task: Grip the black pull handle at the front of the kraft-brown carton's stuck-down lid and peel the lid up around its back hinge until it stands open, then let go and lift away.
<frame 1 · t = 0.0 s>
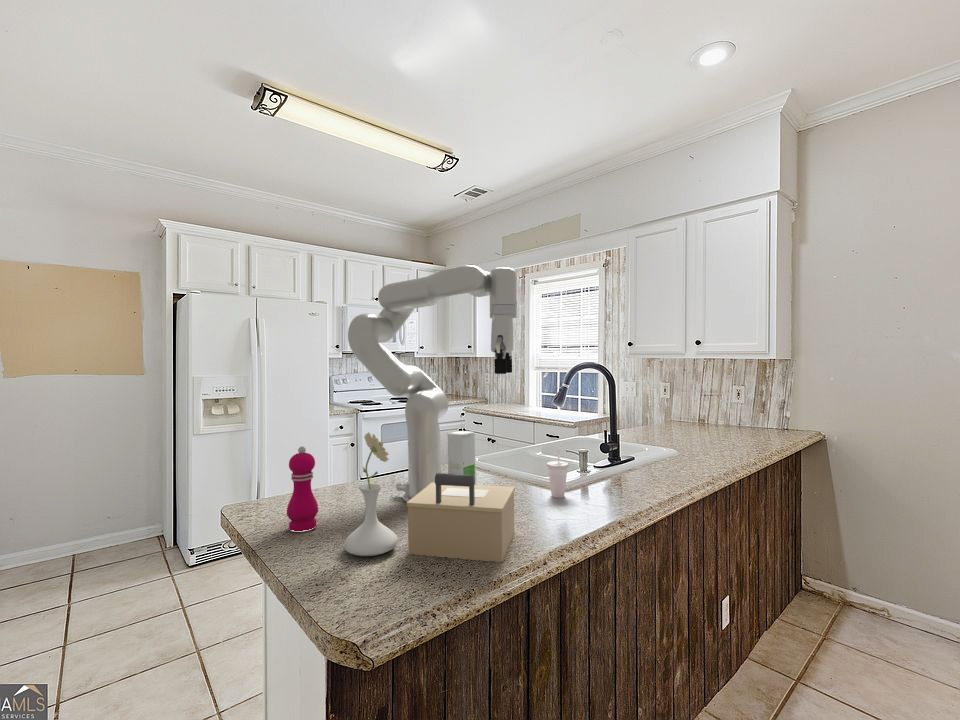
hand: (503, 373, 132), 37 cm above the countertop, tool pointing down, fingers open, 9 cm apart
carton: (464, 543, 104), on the countertop
pepper mill: (302, 529, 114), on the countertop
smoothie: (557, 496, 139), on the countertop
carton lid: (463, 482, 104), point 14 cm above the countertop, hinge at 0.0°
skincare box: (461, 477, 162), on the countertop
flower in vase: (371, 549, 102), on the countertop
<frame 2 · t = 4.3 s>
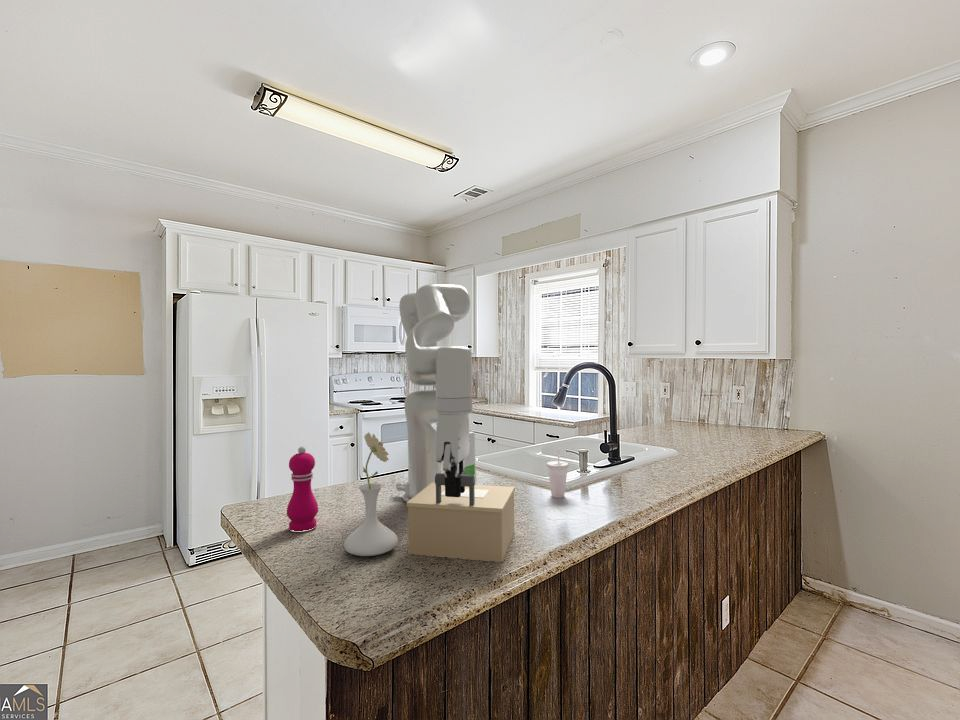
hand: (455, 493, 98), 13 cm above the countertop, tool pointing down, fingers closed on carton lid, 2 cm apart
carton lid: (463, 482, 104), point 14 cm above the countertop, hinge at 0.0°, touching gripper
everything else where it was.
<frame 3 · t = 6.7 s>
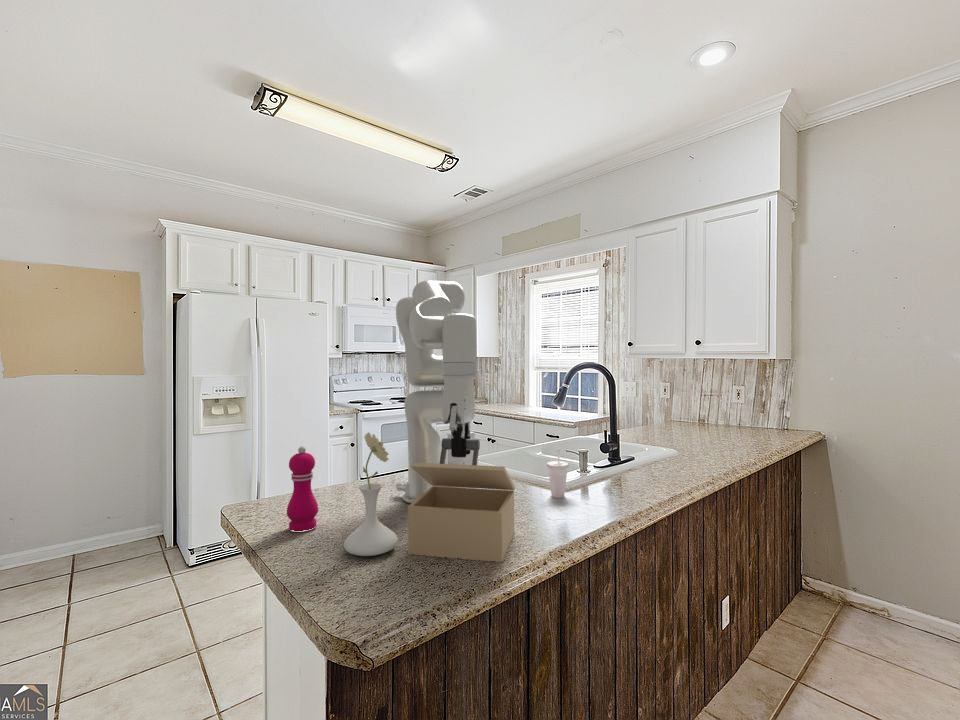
hand: (461, 454, 102), 20 cm above the countertop, tool pointing down, fingers closed on carton lid, 2 cm apart
carton lid: (466, 463, 107), point 17 cm above the countertop, hinge at 29.5°, touching gripper
everything else where it was.
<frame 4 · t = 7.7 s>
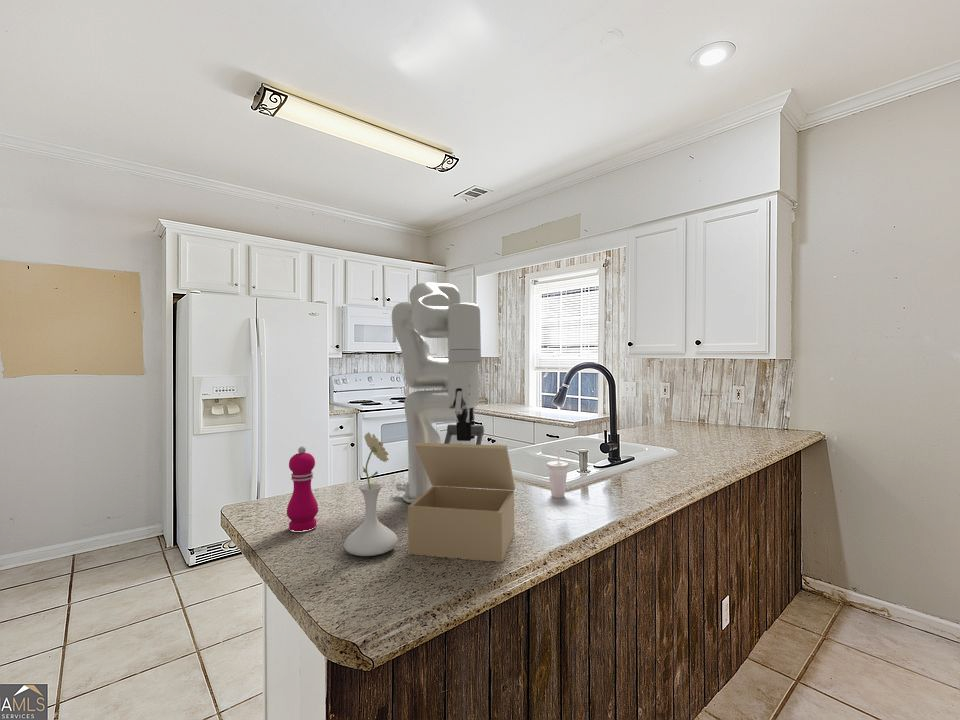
hand: (465, 438, 106), 23 cm above the countertop, tool pointing down, fingers closed on carton lid, 2 cm apart
carton lid: (469, 456, 109), point 18 cm above the countertop, hinge at 47.0°, touching gripper
everything else where it was.
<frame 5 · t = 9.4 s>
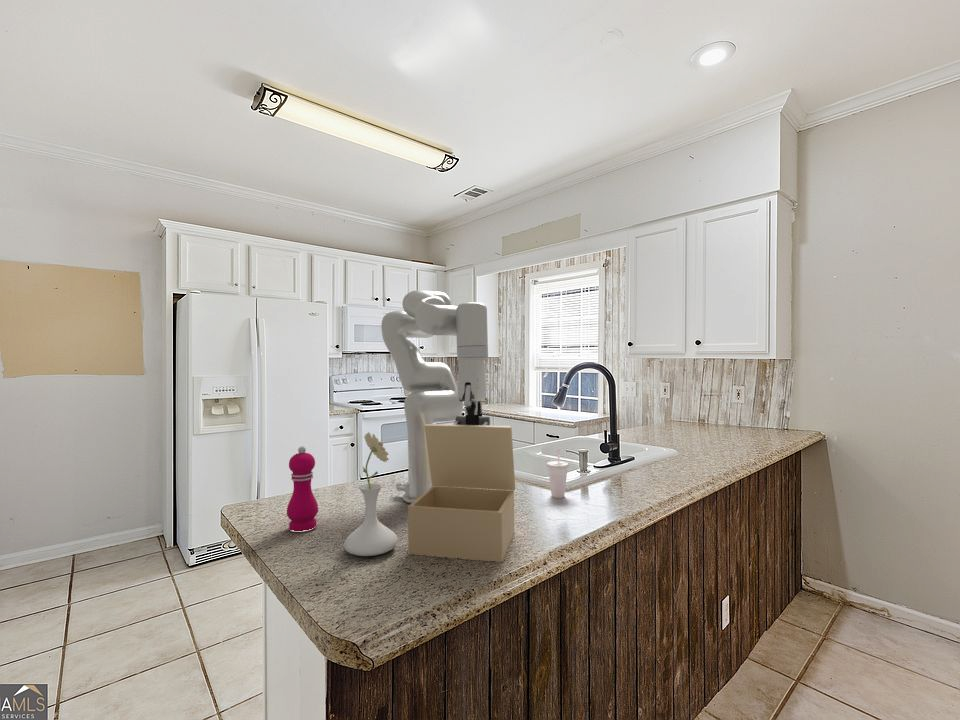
hand: (474, 430, 113), 24 cm above the countertop, tool pointing down, fingers closed on carton lid, 2 cm apart
carton lid: (473, 450, 113), point 19 cm above the countertop, hinge at 72.3°, touching gripper
everything else where it was.
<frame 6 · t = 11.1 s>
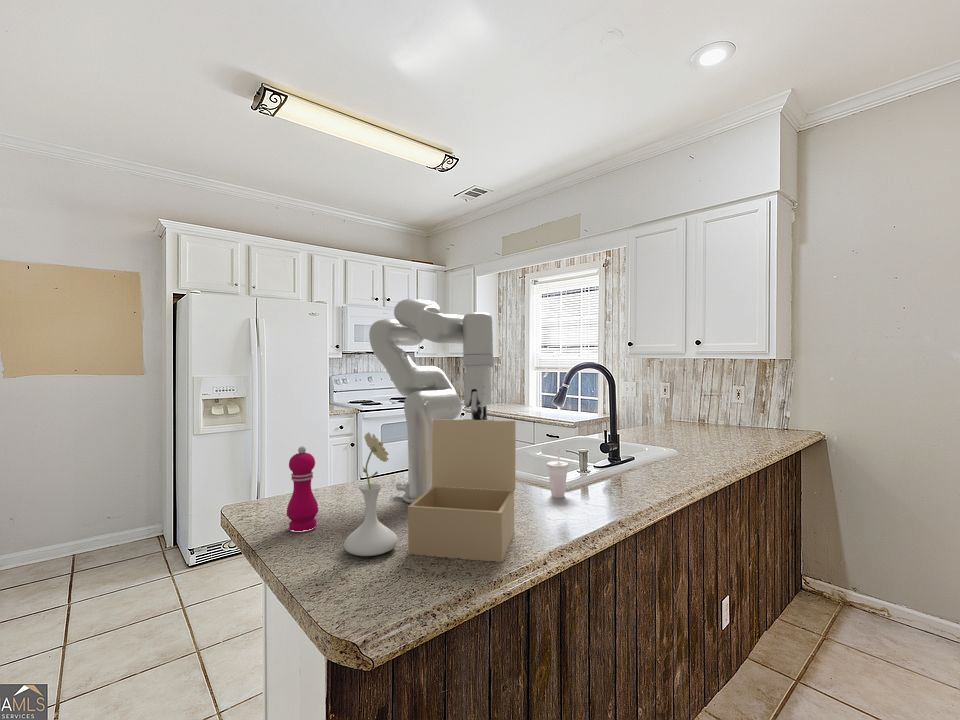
hand: (479, 434, 119), 22 cm above the countertop, tool pointing down, fingers closed on carton lid, 2 cm apart
carton lid: (476, 452, 116), point 18 cm above the countertop, hinge at 94.2°, touching gripper
everything else where it was.
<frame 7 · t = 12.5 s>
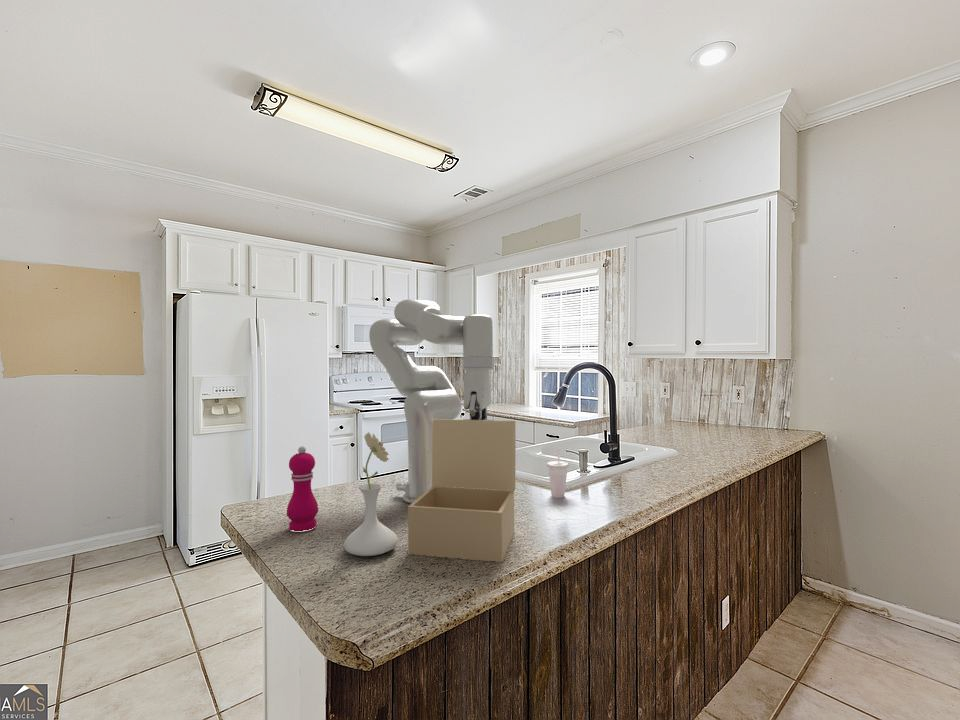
hand: (478, 435, 119), 22 cm above the countertop, tool pointing down, fingers open, 4 cm apart
carton lid: (476, 452, 116), point 18 cm above the countertop, hinge at 94.2°, touching gripper
everything else where it was.
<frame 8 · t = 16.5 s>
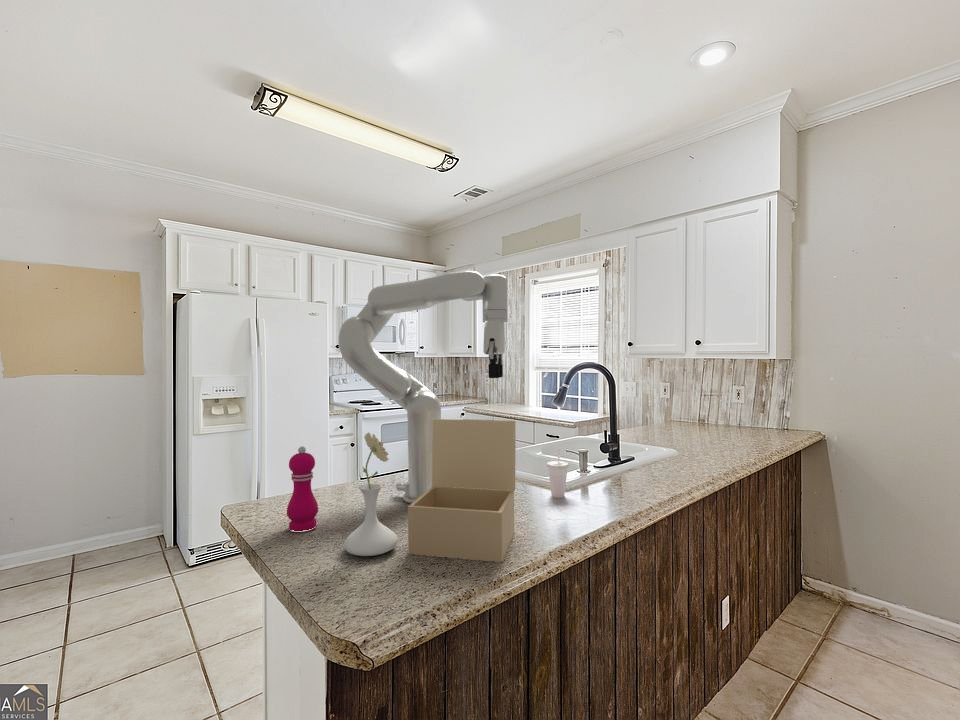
hand: (495, 376, 141), 35 cm above the countertop, tool pointing down, fingers open, 4 cm apart
carton lid: (476, 452, 116), point 18 cm above the countertop, hinge at 94.2°
everything else where it was.
at the end: carton lid at +94° (first picture: +0°); the gripper is holding nothing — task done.
